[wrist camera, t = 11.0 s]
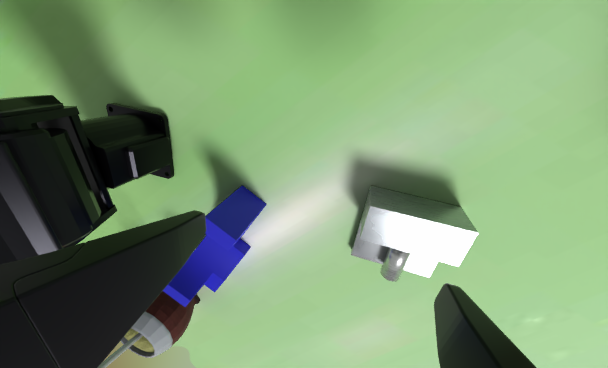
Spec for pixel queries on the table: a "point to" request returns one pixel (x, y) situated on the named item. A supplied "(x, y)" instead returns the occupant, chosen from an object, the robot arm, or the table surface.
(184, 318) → the mate gourd
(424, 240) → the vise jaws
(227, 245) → the blue stepped block
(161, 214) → the table surface
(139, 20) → the table surface
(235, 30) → the table surface
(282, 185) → the table surface
